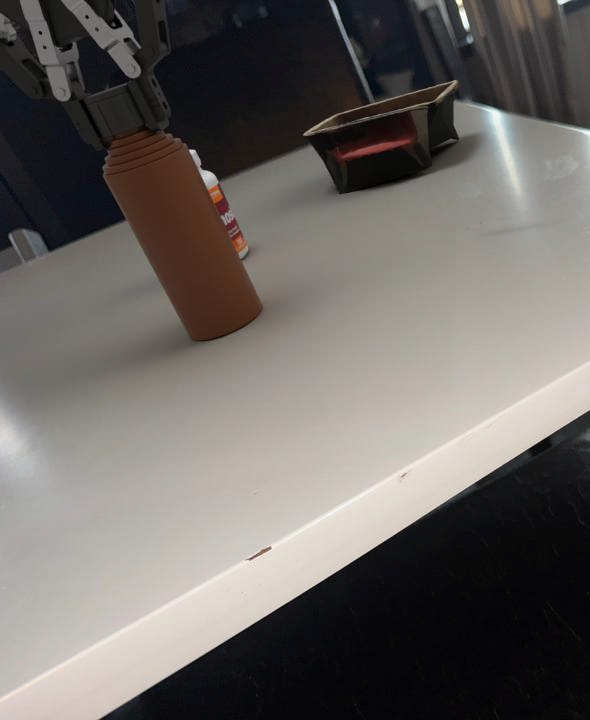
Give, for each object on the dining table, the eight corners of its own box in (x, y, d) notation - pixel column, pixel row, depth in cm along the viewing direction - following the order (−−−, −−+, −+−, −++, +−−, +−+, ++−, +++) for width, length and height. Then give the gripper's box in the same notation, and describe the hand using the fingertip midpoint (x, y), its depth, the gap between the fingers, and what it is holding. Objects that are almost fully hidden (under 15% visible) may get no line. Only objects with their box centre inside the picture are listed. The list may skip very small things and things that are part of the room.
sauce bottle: (179, 348, 61) (54, 121, 53) (201, 314, 67) (91, 103, 58) (254, 326, 61) (140, 93, 52) (269, 294, 66) (168, 78, 58)
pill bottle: (242, 265, 76) (191, 158, 70) (184, 282, 76) (129, 177, 71) (256, 242, 81) (209, 141, 76) (202, 258, 82) (152, 159, 76)
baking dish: (373, 171, 101) (332, 101, 96) (492, 123, 93) (455, 43, 88) (331, 223, 90) (284, 147, 85) (463, 174, 82) (418, 86, 77)
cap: (162, 114, 58) (144, 77, 56) (143, 125, 54) (124, 86, 53) (115, 129, 58) (96, 92, 57) (93, 141, 55) (73, 102, 53)
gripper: (-141, -92, 46) (23, 180, 54) (73, -172, 44) (208, 121, 52) (-67, -90, 52) (69, 152, 61) (122, -160, 51) (235, 99, 59)
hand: (133, 136), depth 56 cm, fingers closed on cap, 4 cm apart
